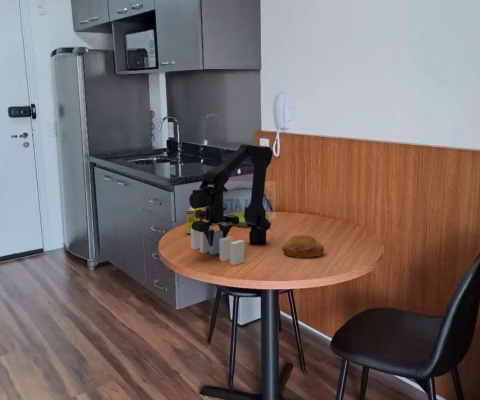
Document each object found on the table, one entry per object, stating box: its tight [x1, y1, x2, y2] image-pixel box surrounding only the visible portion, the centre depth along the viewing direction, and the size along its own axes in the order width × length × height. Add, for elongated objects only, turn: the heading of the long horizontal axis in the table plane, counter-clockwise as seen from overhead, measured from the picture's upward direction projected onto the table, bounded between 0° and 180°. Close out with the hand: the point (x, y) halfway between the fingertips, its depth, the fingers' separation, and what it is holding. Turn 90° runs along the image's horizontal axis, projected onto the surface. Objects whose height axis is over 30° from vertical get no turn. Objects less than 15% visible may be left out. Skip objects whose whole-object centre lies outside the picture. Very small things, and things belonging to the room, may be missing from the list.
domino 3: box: [209, 229, 223, 255], centre depth 183 cm, size 2×5×8 cm, turn 131°
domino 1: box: [190, 229, 200, 250], centre depth 192 cm, size 2×5×8 cm, turn 131°
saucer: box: [229, 210, 270, 228], centre depth 230 cm, size 21×21×3 cm
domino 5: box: [229, 239, 245, 266], centre depth 174 cm, size 2×5×8 cm, turn 131°
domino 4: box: [219, 235, 234, 262], centre depth 178 cm, size 2×5×8 cm, turn 131°
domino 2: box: [199, 232, 210, 254], centre depth 187 cm, size 2×5×8 cm, turn 131°
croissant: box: [281, 235, 325, 258], centre depth 185 cm, size 14×16×8 cm
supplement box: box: [186, 207, 204, 236], centre depth 211 cm, size 6×6×11 cm
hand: (216, 244), depth 183 cm, fingers closed on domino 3, 5 cm apart
